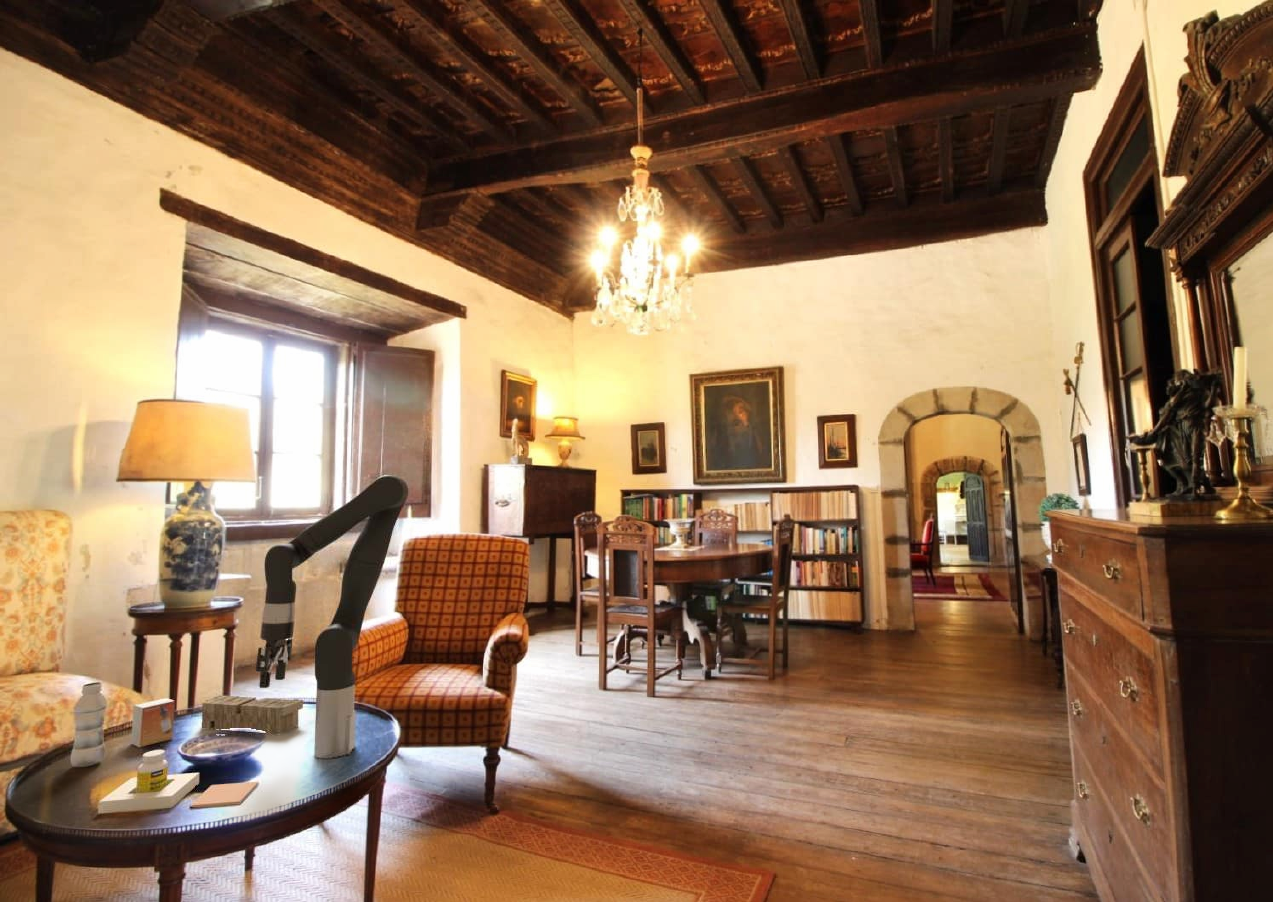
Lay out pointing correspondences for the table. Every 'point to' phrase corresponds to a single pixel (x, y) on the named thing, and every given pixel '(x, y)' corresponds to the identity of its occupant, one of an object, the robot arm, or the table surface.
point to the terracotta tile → (224, 794)
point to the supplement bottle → (152, 772)
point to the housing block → (148, 795)
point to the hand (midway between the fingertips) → (272, 683)
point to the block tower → (251, 713)
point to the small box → (152, 722)
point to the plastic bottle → (89, 726)
